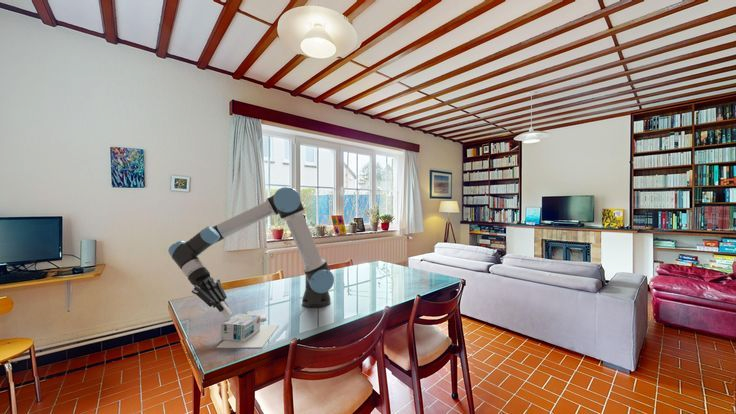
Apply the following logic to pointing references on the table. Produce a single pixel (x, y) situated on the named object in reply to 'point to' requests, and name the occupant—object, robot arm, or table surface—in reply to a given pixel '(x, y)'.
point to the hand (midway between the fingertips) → (229, 315)
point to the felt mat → (252, 339)
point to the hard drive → (259, 313)
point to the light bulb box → (240, 327)
